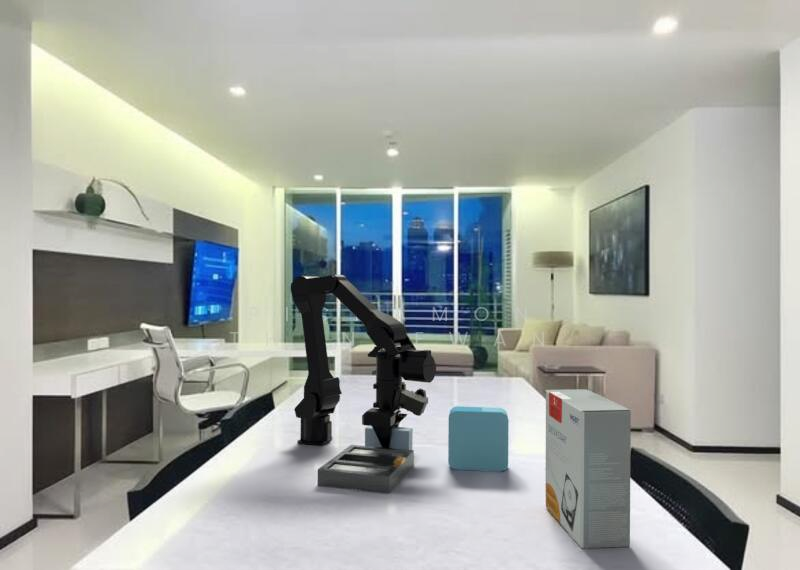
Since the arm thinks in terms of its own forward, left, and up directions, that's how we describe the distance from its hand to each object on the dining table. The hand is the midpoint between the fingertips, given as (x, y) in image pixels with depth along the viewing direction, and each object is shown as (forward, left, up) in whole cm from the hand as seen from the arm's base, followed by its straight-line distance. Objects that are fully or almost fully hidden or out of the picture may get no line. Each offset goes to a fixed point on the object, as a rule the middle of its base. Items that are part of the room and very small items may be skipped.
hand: (388, 449), depth 125 cm
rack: (0, -14, -1) cm, 14 cm away
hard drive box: (+40, -27, -2) cm, 48 cm away
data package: (+20, -3, -2) cm, 20 cm away
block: (0, 0, -1) cm, 1 cm away
